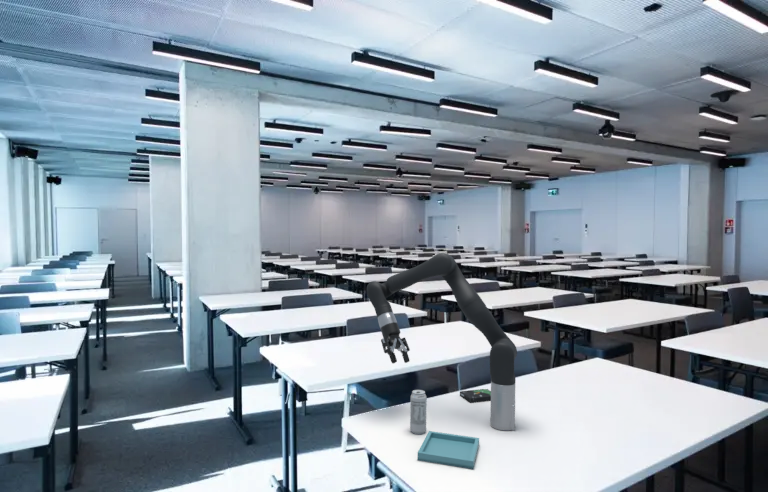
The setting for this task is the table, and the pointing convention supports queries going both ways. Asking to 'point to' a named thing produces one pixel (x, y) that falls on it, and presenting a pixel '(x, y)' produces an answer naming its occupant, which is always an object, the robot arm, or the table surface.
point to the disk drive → (476, 395)
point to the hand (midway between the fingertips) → (401, 362)
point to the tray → (449, 449)
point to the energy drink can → (418, 412)
